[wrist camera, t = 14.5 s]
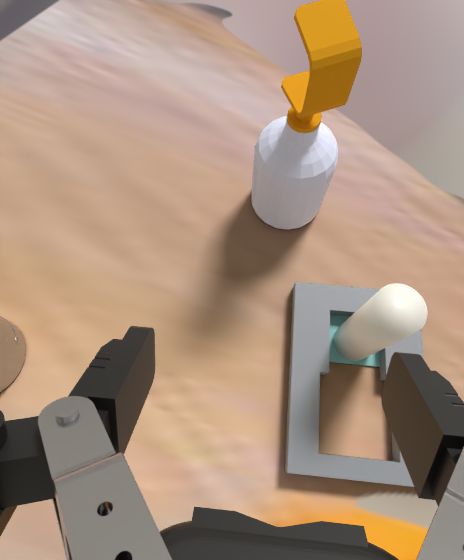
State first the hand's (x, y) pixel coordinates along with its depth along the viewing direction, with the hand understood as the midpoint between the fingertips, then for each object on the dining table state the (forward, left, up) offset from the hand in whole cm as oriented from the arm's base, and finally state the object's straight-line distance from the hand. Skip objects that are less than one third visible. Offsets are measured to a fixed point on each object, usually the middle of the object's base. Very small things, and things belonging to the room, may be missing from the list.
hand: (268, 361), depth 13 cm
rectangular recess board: (+11, -5, -31) cm, 33 cm away
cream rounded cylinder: (+14, -3, -30) cm, 34 cm away
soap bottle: (+21, +16, -31) cm, 41 cm away
